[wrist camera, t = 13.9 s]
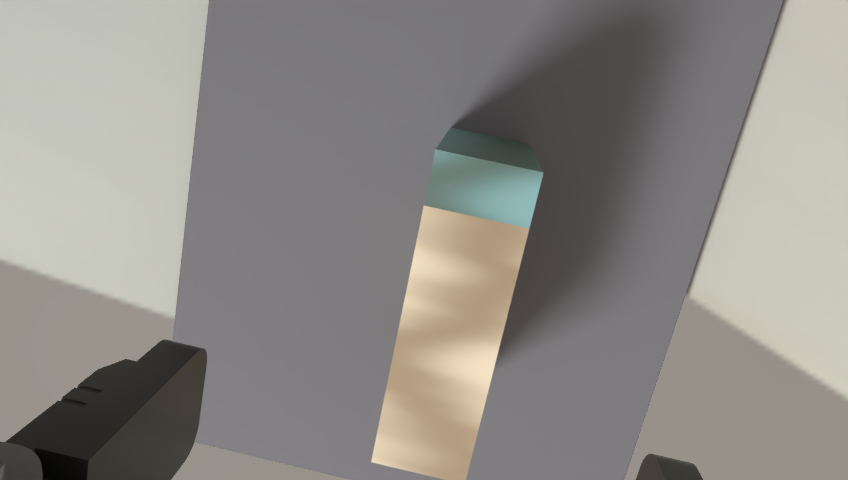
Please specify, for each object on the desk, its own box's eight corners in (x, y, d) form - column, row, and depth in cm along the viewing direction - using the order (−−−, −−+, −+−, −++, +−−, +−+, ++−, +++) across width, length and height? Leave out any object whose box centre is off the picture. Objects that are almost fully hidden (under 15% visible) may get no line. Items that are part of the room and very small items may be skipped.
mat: (166, 429, 30) (162, 434, 29) (237, -219, 23) (233, -224, 22) (602, 534, 29) (603, 540, 28) (814, -106, 22) (819, -109, 21)
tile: (371, 461, 20) (435, 149, 18) (400, 365, 27) (450, 127, 25) (464, 484, 20) (543, 172, 18) (471, 381, 27) (529, 144, 24)
